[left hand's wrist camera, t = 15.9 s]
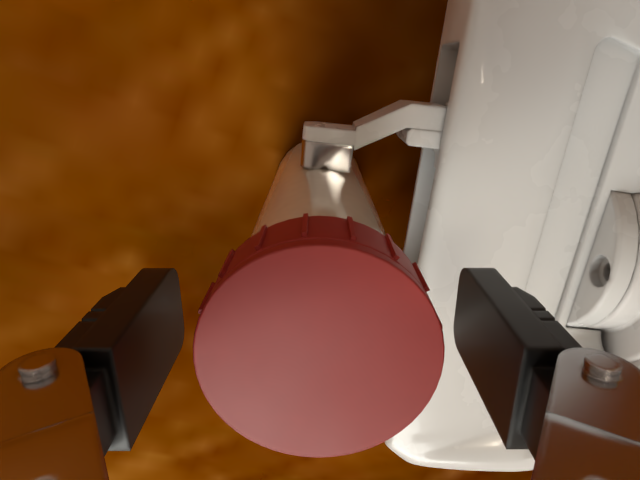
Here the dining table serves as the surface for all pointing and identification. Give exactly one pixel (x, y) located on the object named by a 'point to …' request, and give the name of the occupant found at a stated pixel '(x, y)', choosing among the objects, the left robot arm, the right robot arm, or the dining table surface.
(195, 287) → the dining table surface
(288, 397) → the lid
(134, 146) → the dining table surface
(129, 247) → the dining table surface
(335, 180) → the beige cylinder
